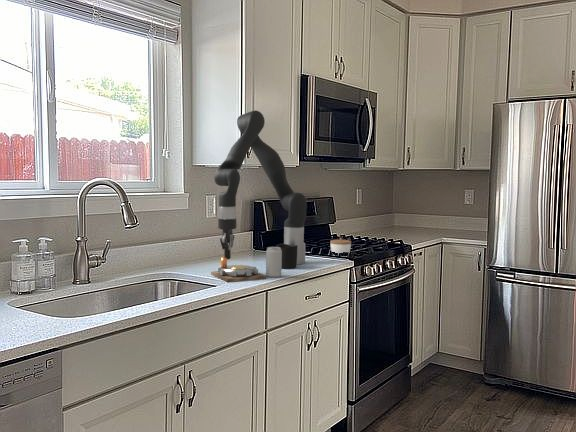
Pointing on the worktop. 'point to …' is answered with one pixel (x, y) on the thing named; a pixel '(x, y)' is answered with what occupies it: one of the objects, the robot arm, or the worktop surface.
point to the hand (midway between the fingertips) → (227, 258)
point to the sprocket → (236, 269)
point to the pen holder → (288, 256)
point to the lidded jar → (340, 246)
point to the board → (237, 277)
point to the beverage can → (273, 262)
